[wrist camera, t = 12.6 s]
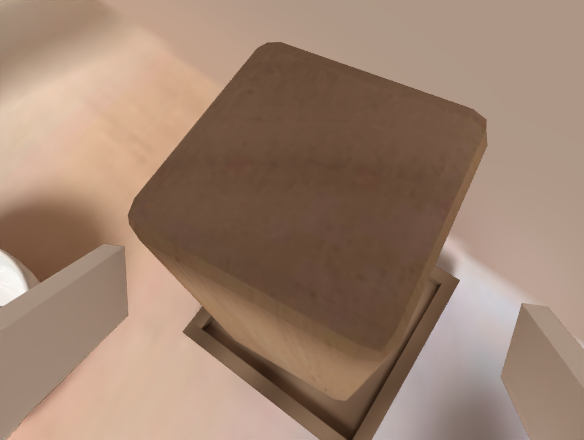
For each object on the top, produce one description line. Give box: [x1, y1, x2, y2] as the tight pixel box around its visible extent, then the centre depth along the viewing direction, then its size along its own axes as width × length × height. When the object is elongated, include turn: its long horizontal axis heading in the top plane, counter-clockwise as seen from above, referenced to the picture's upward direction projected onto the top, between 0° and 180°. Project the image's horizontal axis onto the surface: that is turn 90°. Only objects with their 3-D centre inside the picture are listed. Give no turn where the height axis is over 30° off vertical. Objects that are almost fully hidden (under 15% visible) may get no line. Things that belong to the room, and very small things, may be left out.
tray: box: [183, 266, 460, 440], centre depth 32 cm, size 15×15×2 cm
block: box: [128, 42, 487, 401], centre depth 23 cm, size 10×10×20 cm
